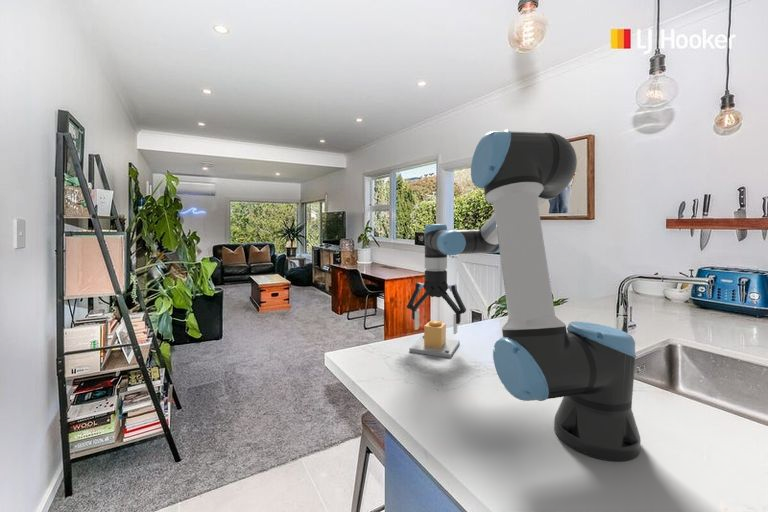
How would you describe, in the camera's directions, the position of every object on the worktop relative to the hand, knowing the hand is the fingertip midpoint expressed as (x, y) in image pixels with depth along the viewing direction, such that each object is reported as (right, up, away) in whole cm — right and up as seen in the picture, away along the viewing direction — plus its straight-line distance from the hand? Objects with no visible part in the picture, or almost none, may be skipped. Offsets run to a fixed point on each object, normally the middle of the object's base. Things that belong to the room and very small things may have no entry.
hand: (435, 330), depth 124 cm
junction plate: (0, -6, +1) cm, 6 cm away
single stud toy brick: (0, -5, +1) cm, 5 cm away
